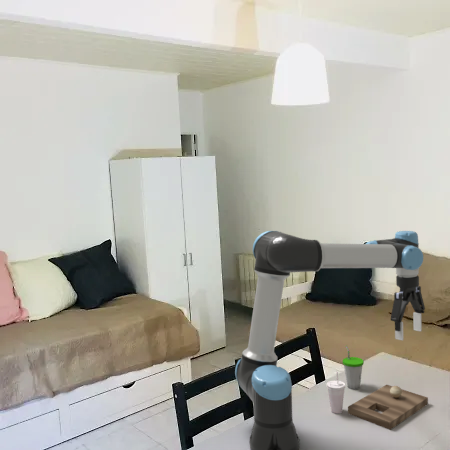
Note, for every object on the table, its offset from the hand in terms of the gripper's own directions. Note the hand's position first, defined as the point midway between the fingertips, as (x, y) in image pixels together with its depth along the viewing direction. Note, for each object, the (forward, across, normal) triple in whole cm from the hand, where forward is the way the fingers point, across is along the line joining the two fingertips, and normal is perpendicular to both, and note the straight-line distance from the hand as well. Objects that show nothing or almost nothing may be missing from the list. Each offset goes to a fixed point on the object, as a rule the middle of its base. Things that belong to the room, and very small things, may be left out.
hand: (408, 335), depth 184 cm
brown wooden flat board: (+23, -14, 0) cm, 27 cm away
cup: (+23, -7, +19) cm, 31 cm away
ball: (+18, -9, 0) cm, 20 cm away
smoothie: (+23, -27, +12) cm, 37 cm away
